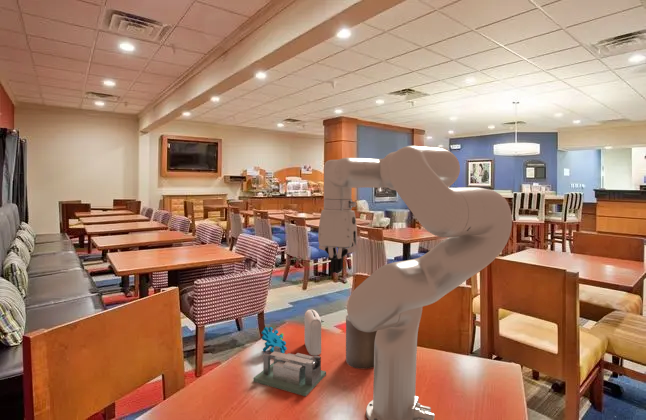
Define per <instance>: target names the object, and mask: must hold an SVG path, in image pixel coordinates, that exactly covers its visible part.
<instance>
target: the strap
mask: <svg viewBox="0 0 646 420" xmlns="http://www.w3.org/2000/svg"><path fill="white" fill-rule="evenodd" d="M270 359H273V360H274V359H278V360H282V361H286V362H290V363H294V364H298V365H302V366H305V363H306V362H307V363H312V364H313V367H314V366H315V365H316V364H318V361H317V360H314V361H313V360H309V359H305V358H301V357H297V356H292V355H288V353H280V352H276V351H274V352H271V353H270Z"/></svg>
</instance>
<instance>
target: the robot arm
mask: <svg viewBox="0 0 646 420" xmlns="http://www.w3.org/2000/svg"><path fill="white" fill-rule="evenodd" d="M323 173H324V174H323V176H324V177H323V209H321V212H320V216H319V223H318V224H319V225H318V238H317V239H318V249H319V250H322V251H324V252H326V253H327V254H328V256H329V258H330V269H331V273H333V274H334V273H335V274H339V273H341V272H342V271H343V270H344V269H343V268H344V257H346V255H347V254H351V253H355V252H356V251H357V248H356V246H357V244H358V227H357V219H356V218H357V217H356V213H355V210H352V209H353V208H356V207H357V202H356V201H353V199H352V194H353V193H352V192H353V190H352V189H353V188H355V189H357V188H372V189H373V188H387V189H389V190H391V191H395V192H396V193H397V194H398V195H399V197H400V198H401V199H402V201H403V203H404V204H405V205H406V206H407V208H408V209H409V211H410V212H411V213H412V214H413V216H414V217H415V218H416V220H417V221H418V222H419V224H420V225H421V226H422V227H423V228H424V229H425V230H426V231H427V232H428V233H430V234H432V235H433V236H436V237H440V238H445V239H443V240H442V241H440V242H439V243H437V244H436V245H434V247H433V248H431V249H430V250H428V251H427V252H426V253H424V254H423V255H422V256H419V257H417V258H413V259H412V258H411V259H407V260H400V261H395V262H394V261H393V262H390V263H385V264H384V265H382V266H380V267H379V268H377V269H375V270H374V271H373V272H372V273H371V274H370V275H369V276H368V277H366V279H364V280H363V281H362V282H361V283H360V284H359V285H357V286H356V287H355V289H354V290H352V292H351V293H350V296H349V297H348V300H347V305H346V307H347V308H346V310H347V311H346V313H347V315H348V317H349V320H350V322H351V323H352V325H353V326H354V327H355V328H357V329H358V330H360V331H363V332H374V331H377V332H376V336H375V342H374V367H373V388H372V389H373V391H372V395H373V396H372V400H371V401H369V402H368V404H367V405H366V409H365V413H366V418H367V420H435V413H434V412H432V410H431V409H432V407H431V406H428V405H422V404H421V403H419V396H417V395H416V382H417V381H416V380H417V350H418V334H419V333H418V332H419V327H420V323H421V318H422V315H423V314H422V313H423V307H426V306H429V305H432V304H434V303H436V302H438V301H439V300H441V298H443V297H445V295H448V294H449V293H450V292H452V291H453V290H455V289H456V288H457V287H460V286H461V285H462V284H464V283H465V282H466V281H467V280H469V279H470V278H473V276H475V275H477V273H479V272H481V271H482V270H483V269H485V268H487V266H489V265H490V264H491V263H492V262H494V260H495V259H497V258H498V256H499V255H500V254H501V253H502V252H503V250H504V249H505V247H506V245H507V243H508V242H509V240H510V235H511V233H512V226H513V216H512V210H511V207H510V204H509V203H508V200H507V199H506V198H505V197H504V196H503V195H502V194H500V193H498V192H496V191H495V190H493V189H492V190H491V189H489V188H483V187H452V185H453V184H454V183H455V182H456V181H457V179H458V178H459V176H460V173H461V165H460V162H459V160H458V157H456V155H455V154H454V153H453V152H451V151H450V150H447V149H445V148H442V147H441V148H440V147H436V146H435V147H433V146H431V147H430V146H420V145H419V146H418V145H407V146H403V147H401V148H399V149H397V151H392V152H389V153H388V154H386V156H385V157H384V158H368V157H367V158H366V157H343V158H339V159H329V160H326V161H325V163H324V169H323Z"/></svg>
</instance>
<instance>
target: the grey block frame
mask: <svg viewBox="0 0 646 420" xmlns="http://www.w3.org/2000/svg"><path fill="white" fill-rule="evenodd" d="M274 351H276V352H280V347H277V346H275V347H274ZM270 354H271V353H270ZM270 354H269V353H263V355H262V356H263V359H262V360H263V362H262V363H263V370H262V371H263V374H265V375H269V374H270V365H271V358H270ZM287 354H288V355H292V356H297V357H301V358H305V359H309V360H313V361H314V360H317V361H318V364H316V365H315V366H314V367H313V364H312V363H307V362H306V363H305V366H302V365H298V364H294V363H290V362H286V361H282V360H278V359H274V358H273V362H274V365H273V379H276V380H279V381H283V382H287V383H290V384H294V385H297V386H300V385H301V384H302V383H303V382H304V381H305V384H306V385H309V386H313V385H314V384H315V383H316V381H317V380H318V379H319V378H320V377H321V370H322V357H321V356H320V355H310V354H304V353H300V352H297V353H296V354H294V353H289V352H288V353H287Z"/></svg>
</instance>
